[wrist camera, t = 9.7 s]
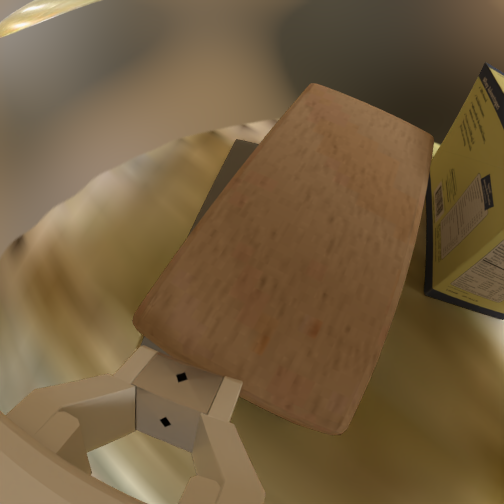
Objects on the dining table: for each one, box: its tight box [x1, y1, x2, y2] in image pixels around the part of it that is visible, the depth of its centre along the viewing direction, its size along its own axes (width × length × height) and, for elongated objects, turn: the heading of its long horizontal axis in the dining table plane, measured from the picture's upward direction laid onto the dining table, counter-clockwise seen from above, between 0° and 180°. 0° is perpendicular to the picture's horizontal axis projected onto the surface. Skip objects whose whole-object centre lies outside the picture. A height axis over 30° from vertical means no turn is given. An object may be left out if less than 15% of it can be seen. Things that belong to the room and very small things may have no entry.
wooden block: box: [132, 83, 434, 435], centre depth 20 cm, size 10×10×20 cm
